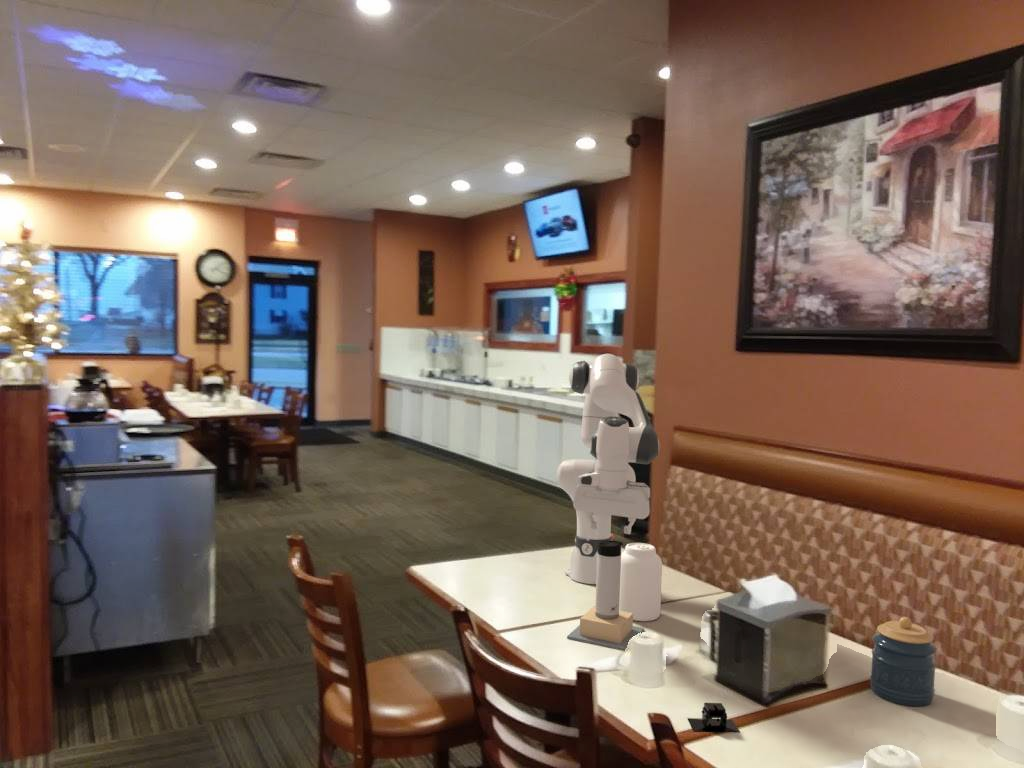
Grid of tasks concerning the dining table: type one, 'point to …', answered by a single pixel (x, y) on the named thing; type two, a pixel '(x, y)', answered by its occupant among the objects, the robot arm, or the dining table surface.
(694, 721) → the build plate
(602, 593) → the travel mug
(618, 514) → the robot arm
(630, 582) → the white jar
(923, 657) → the canister
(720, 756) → the dining table surface
